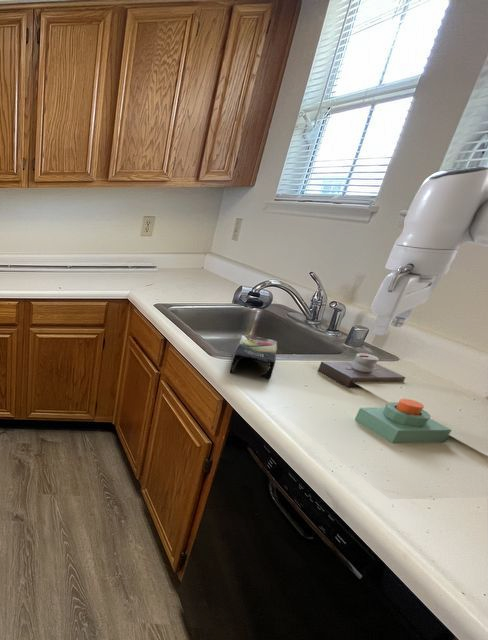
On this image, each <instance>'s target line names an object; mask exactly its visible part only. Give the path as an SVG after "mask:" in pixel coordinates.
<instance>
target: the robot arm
mask: <svg viewBox="0 0 488 640" xmlns="http://www.w3.org/2000/svg"><path fill="white" fill-rule="evenodd" d="M412 199H413V200H412V201H411V203H410V206H409V208H408V210H407V212H406V215H405V217H404V220H403V229H402V231H401V232H400V235H399V236H398V237H397V238H396V240H395V242H394V244H393V246H392V248H391V250H390V254H389V256H388V258H387V260H386V263H385V266H384V268H385V269H386V270H390V271H391V272H390V274H388V275H386V276H385V277H384V278H383V281H382V282H381V284H380V286H379V288H378V290H377V292H376V294H375V297H374V298H373V300H372V303H371V305H370V308H369V313H370V314H371V315H375V316H376V320H375V326H374V329H373V335H376V336H380V337H381V336H382V337H383V336H385V335H387V334H388V333H389V330H390V328H391V326H392V327H396V328H401V327H404V326H405V324H406V322H407V320H408V318H409V317H410V316H411V315H412V313H413V311H414V310H415V308H416V307H418V306H421V305H422V304H425V303H426V302H427V301H428V300H429V299H430V297H431V296H432V294H433V292H434V291H435V289H436V288H437V285H438V284H439V283H440V280H441V279H442V277H443V276H445V275H447V274H448V273H449V271H450V270H451V267H452V266H453V264H454V262H455V258H456V256H457V254H458V252H459V249H460V248H461V245H462V244H464V243H468V244H473V245H476V246H481V247H485V248H488V167H486V166H467V167H457V168H451V169H450V168H449V169H445V170H441V171H437V172H435V173H433V174H431V175H430V176H428V177H427V178H426V179H425V180H424V181H423V183H422V184H421V185H420V187H419V189H418V190H417V192H416V194H415V195H414V198H412ZM390 325H391V326H390Z"/></svg>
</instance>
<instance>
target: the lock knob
mask: <svg viewBox="0 0 488 640" xmlns="http://www.w3.org/2000/svg"><path fill="white" fill-rule="evenodd" d="M352 361H353V364H352V366H351V367H352V368H353V369H356V370H358V371H362V372H373V370H374V368H375V366H376V364H378V361H379V357H377V356H376V355H373V354H370V353H365V352H364V353H363V352H359V353H356V354H355V356H354V359H353V360H352Z"/></svg>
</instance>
